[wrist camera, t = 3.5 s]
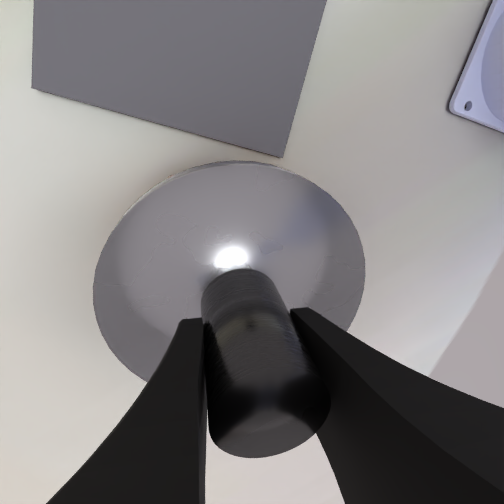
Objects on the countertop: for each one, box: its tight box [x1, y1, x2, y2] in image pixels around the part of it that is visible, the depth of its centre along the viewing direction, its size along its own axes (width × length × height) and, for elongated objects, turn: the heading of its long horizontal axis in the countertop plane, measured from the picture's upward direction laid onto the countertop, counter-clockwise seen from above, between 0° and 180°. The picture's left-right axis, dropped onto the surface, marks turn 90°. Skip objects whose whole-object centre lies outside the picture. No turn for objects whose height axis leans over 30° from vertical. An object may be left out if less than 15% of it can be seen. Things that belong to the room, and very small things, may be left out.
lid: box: [93, 161, 365, 458], centre depth 9 cm, size 10×10×5 cm
